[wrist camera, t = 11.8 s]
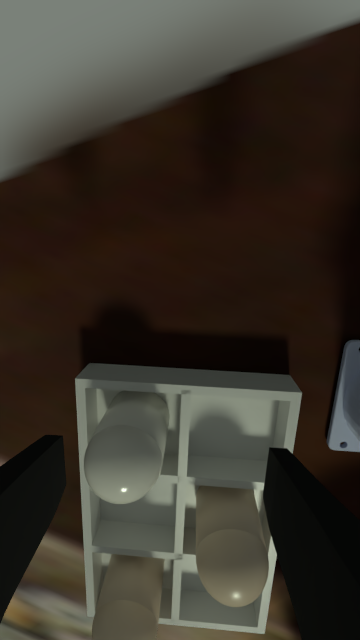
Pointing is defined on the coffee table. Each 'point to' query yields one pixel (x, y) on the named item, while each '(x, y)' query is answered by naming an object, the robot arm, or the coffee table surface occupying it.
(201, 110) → the coffee table surface
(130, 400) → the egg
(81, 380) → the egg carton
